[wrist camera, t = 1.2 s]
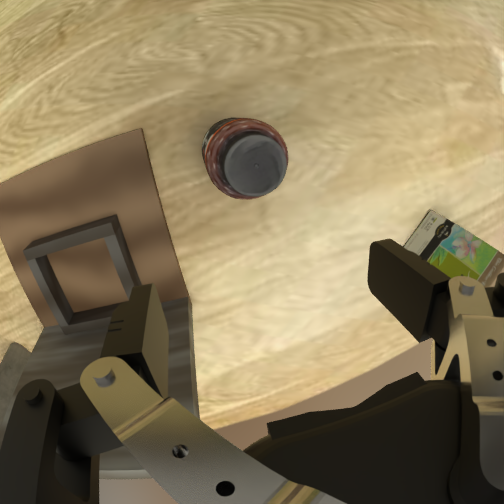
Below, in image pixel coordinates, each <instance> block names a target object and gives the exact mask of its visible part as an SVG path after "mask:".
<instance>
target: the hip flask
mask: <svg viewBox="0 0 504 504" xmlns="http://www.w3.org/2000/svg"><path fill="white" fill-rule="evenodd" d="M30 355H31V353H30V352H29V351H28V350H27V349H26V348H24V347H23V346H22V345H20V344H18V343H12V344H11V345H10V347H9V349H8V350H7V352H6V354H5V356H4V358H3V360H2V362H1V363H0V428H1V425H2V422H3V420H4V417H5V414H6V411H7V409H8V406H9V403H10V401H11V398H12V396H13V393H14V391H15V389H16V386H17V384H18V382H19V379H20V377H21V375H22V372H23V370H24V368H25V366H26V364H27V361H28V359H29V357H30Z"/></svg>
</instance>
